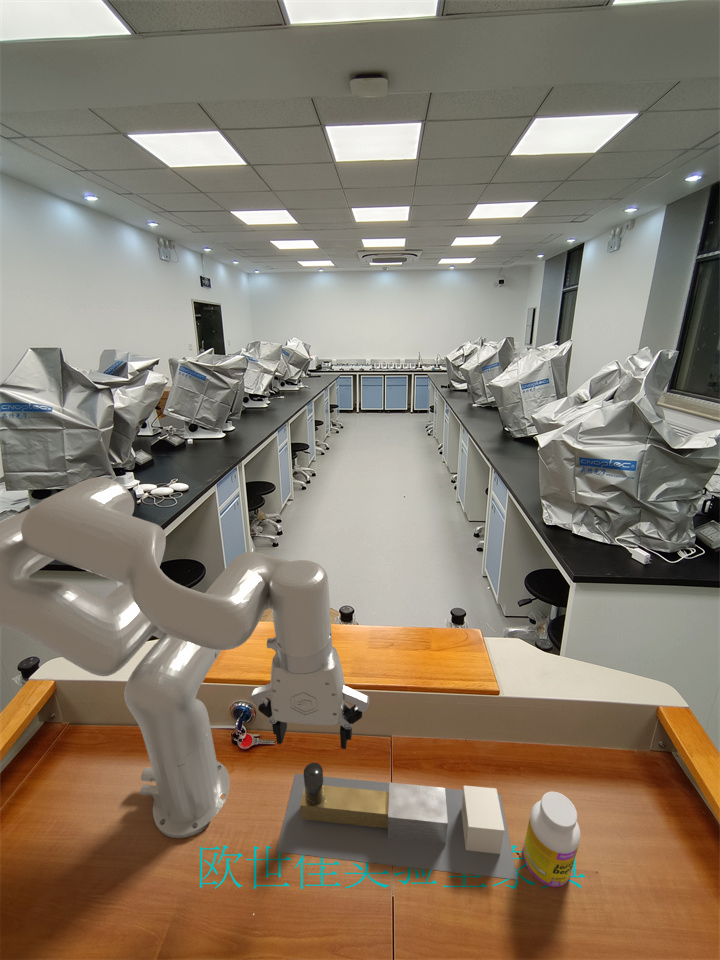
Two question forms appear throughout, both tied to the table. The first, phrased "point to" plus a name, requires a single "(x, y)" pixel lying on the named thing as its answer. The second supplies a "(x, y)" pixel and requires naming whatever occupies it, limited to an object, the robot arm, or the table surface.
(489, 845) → the cream rectangular block
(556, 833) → the supplement bottle
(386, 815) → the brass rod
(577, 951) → the table surface
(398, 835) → the sleeve
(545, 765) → the table surface
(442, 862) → the base board
